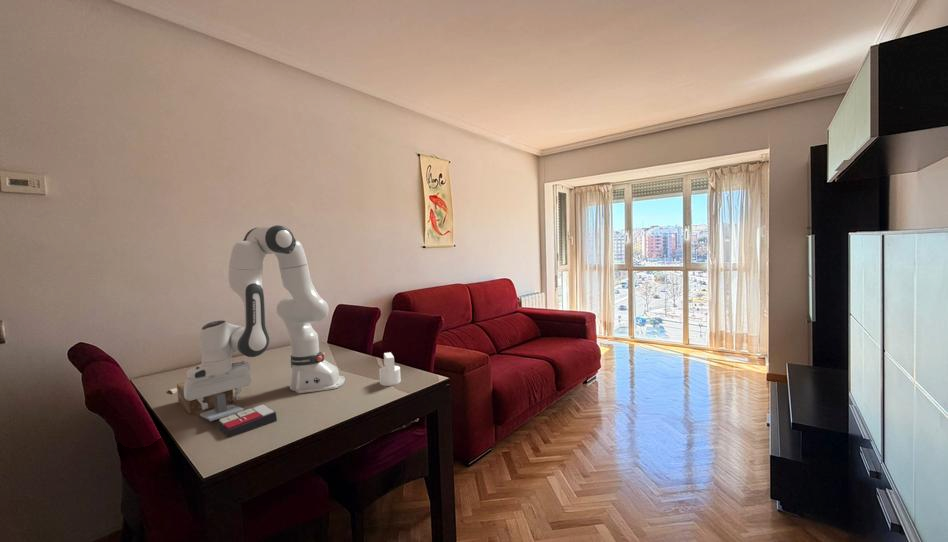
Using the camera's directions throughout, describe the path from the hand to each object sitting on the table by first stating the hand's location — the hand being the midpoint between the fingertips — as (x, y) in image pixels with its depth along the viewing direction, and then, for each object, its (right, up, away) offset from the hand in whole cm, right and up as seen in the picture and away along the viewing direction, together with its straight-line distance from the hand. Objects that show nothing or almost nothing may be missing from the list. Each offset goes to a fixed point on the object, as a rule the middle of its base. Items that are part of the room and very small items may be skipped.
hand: (220, 404), depth 139 cm
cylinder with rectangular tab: (+55, -1, +30) cm, 62 cm away
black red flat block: (+14, -5, -7) cm, 16 cm away
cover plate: (+1, -3, 0) cm, 3 cm away
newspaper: (-33, -4, +37) cm, 50 cm away
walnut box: (-15, -4, +14) cm, 21 cm away
